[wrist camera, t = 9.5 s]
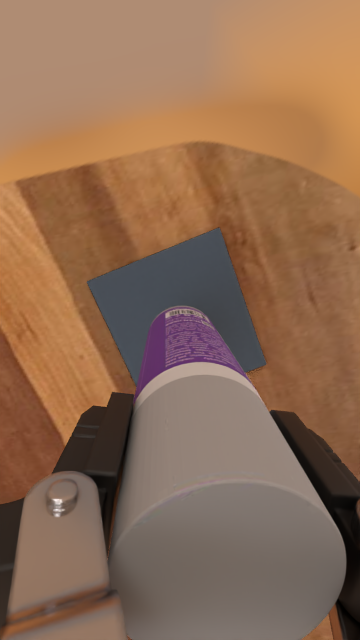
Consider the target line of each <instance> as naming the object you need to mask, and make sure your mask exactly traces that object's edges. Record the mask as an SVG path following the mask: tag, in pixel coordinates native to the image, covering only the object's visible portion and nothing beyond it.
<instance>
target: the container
mask: <svg viewBox="0 0 360 640" xmlns="http://www.w3.org/2000/svg"><path fill="white" fill-rule="evenodd" d="M108 569H109V577H110V583H111V587H112V590H113V589H117V591H118V593H119V596H120V599H121V604H122V609H123V614H124V620H125V627H126V633H127V635H128V636H129V637H130V638H131V639H132V640H301V639H302V638H304V637H305V636H306V635H308V634H309V633H310V632H311V631H312V630H313V629H314V628H316V627H317V626H318V625H319V624H320V623H321V622H322V620H323V619H324V618H325V617H326V616H327V615H328V613H329V612H330V610H331V609H332V607H333V606H334V604H335V602H336V601H337V599H338V597H339V594H340V592H341V590H342V586H343V583H344V579H345V574H346V551H345V546H344V542H343V539H342V536H341V534H340V532H339V529H338V528H337V526H336V524H335V523H334V521H333V519H332V517H331V516H330V514H329V512H328V511H327V509H326V507H325V506H324V504H323V502H322V501H321V499H320V497H319V496H318V494H317V492H316V490H315V489H314V487H313V485H312V484H311V482H310V480H309V479H308V477H307V475H306V474H305V472H304V470H303V469H302V467H301V465H300V464H299V462H298V460H297V458H296V457H295V455H294V453H293V452H292V450H291V448H290V447H289V445H288V443H287V442H286V440H285V438H284V437H283V435H282V433H281V431H280V430H279V428H278V426H277V425H276V423H275V421H274V420H273V418H272V416H271V415H270V413H269V411H268V410H267V408H266V406H265V404H264V403H263V401H262V399H261V398H260V396H259V394H258V392H257V390H256V389H255V387H254V386H253V384H252V383H251V381H250V380H249V378H248V377H247V375H246V374H245V372H244V371H243V369H242V368H241V366H240V365H239V363H238V362H237V360H236V359H235V357H234V356H233V354H232V353H231V351H230V350H229V348H228V346H227V345H226V343H225V342H224V340H223V339H222V337H221V336H220V334H219V333H218V331H217V330H216V328H215V327H214V325H213V324H212V322H211V321H210V320H209V318H208V317H207V316H206V315H205V314H204V313H203V312H201V311H200V310H198V309H196V308H193V307H190V306H174V307H171V308H168V309H166V310H164V311H163V312H161V313H160V314H159V315H158V316H157V317H156V318H155V319H154V320H153V322H152V324H151V326H150V328H149V332H148V336H147V340H146V345H145V350H144V355H143V359H142V364H141V369H140V374H139V378H138V383H137V388H136V392H135V397H134V403H133V410H132V416H131V421H130V427H129V432H128V438H127V443H126V450H125V456H124V462H123V468H122V475H121V481H120V487H119V493H118V499H117V506H116V512H115V518H114V524H113V531H112V537H111V543H110V549H109V556H108Z"/></svg>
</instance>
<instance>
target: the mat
mask: <svg viewBox="0 0 360 640" xmlns="http://www.w3.org/2000/svg"><path fill="white" fill-rule="evenodd" d="M87 284H88V286H89V288H90V290H91V292H92V294H93V296H94V298H95V300H96V302H97V305H98V307H99V309H100V311H101V313H102V315H103V317H104V319H105V321H106V324H107V326H108V328H109V330H110V332H111V334H112V336H113V338H114V340H115V342H116V345H117V347H118V349H119V351H120V353H121V355H122V357H123V359H124V361H125V364H126V366H127V368H128V370H129V372H130V374H131V376H132V378H133V380H134V382H135V385H136V387H137V383H138V378H139V374H140V369H141V364H142V359H143V355H144V350H145V345H146V340H147V336H148V332H149V328H150V326H151V324H152V322H153V320H154V319H155V318H156V317H157V316H158V315H159V314H160V313H161V312H163V311H164V310H166V309H168V308H171V307H174V306H190V307H193V308H196V309H198V310H200V311H201V312H203V313H204V314H205V315H206V316H207V317H208V318H209V320H210V321H211V322H212V324H213V325H214V327H215V328H216V330H217V331H218V333H219V334H220V336H221V337H222V339H223V340H224V342H225V343H226V345H227V346H228V348H229V350H230V351H231V353H232V354H233V356H234V357H235V359H236V360H237V362H238V363H239V365H240V366H241V368H242V369H243V371H244V372H248V371H251V370H253V369H256V368H258V367H261V366H264V365H266V362H265V359H264V356H263V353H262V350H261V347H260V344H259V341H258V338H257V335H256V332H255V329H254V327H253V324H252V321H251V318H250V315H249V312H248V309H247V306H246V303H245V300H244V297H243V295H242V292H241V289H240V286H239V283H238V280H237V277H236V274H235V271H234V268H233V265H232V263H231V260H230V257H229V254H228V251H227V248H226V245H225V242H224V239H223V236H222V233H221V231H220V228H217V229H214V230H212V231H209V232H207V233H204V234H202V235H200V236H197V237H195V238H192V239H190V240H187V241H185V242H182V243H180V244H178V245H175V246H173V247H170V248H168V249H165V250H163V251H160V252H158V253H155V254H153V255H151V256H148V257H146V258H143V259H141V260H138V261H136V262H133V263H131V264H129V265H126V266H124V267H121V268H119V269H116V270H114V271H111V272H109V273H106V274H104V275H102V276H99V277H97V278H94V279H92V280H89V281H87Z"/></svg>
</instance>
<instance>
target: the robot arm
mask: <svg viewBox="0 0 360 640" xmlns="http://www.w3.org/2000/svg"><path fill="white" fill-rule="evenodd" d="M133 403H134V394H125V393H115V392H112V394H111V397H110V400H109V402H108V405H107V407H101V406H92V407H91V408H90V409H88V410H87V411H86V412H84V413H83V414H82V415H81V417H80V419H79V421H78V423H77V425H76V427H75V429H74V431H73V433H72V436H71V437H70V439H69V441H68V443H67V445H66V447H65V449H64V451H63V452H62V454H61V456H60V458H59V460H58V462H57V464H56V466H55V468H54V470H53V472H52V474H51V475H49V476H46V477H44V478H43V479H41V480H39V481H38V482H37V483H36V484H34V485H33V487H32V488H31V489H30V490H29V491H28V493H27V495H26V497H24V498H22V499H20V500H17V501H14V502H10V503H5V504H0V640H128V639H127V633H126V627H125V620H124V614H123V609H122V604H121V599H120V596H119V593H118V591H117V589H113V590H112V587H111V583H110V577H109V569H108V562H107V557H108V551H109V546H110V541H111V536H112V530H113V524H114V518H115V512H116V506H117V499H118V493H119V487H120V481H121V475H122V468H123V462H124V456H125V450H126V443H127V438H128V432H129V427H130V421H131V416H132V410H133ZM269 413H270V415H271V416H272V418H273V420H274V421H275V423H276V425H277V426H278V428H279V430H280V431H281V433H282V435H283V437H284V438H285V440H286V442H287V443H288V445H289V447H290V448H291V450H292V452H293V453H294V455H295V457H296V458H297V460H298V462H299V464H300V465H301V467H302V469H303V470H304V472H305V474H306V475H307V477H308V479H309V480H310V482H311V484H312V485H313V487H314V489H315V490H316V492H317V494H318V496H319V497H320V499H321V501H322V502H323V504H324V506H325V507H326V509H327V511H328V512H329V514H330V516H331V517H332V519H333V521H334V523H335V524H336V526H337V528H338V529H339V532H340V534H341V536H342V539H343V542H344V546H345V551H346V574H345V579H344V583H343V586H342V590H341V592H340V594H339V597H338V599H337V601H336V602H335V604H334V606H333V607H332V609H331V610H330V612H329V613H328V614H329V619H330V624H331V629H332V635H333V640H360V482H359V481H358V480H357V479H356V477H355V476H354V475H353V474H352V473H351V472H350V470H349V469H348V468H347V467H346V466H345V464H344V463H341V460H340V458H339V457H338V456H337V455H336V454H335V453H333V450H332V449H331V448H330V447H329V445H328V444H327V443H326V442H325V441H324V439H322V438H321V437H320V436H318V435H317V434H316V433H314V432H313V431H312V430H310V429H307V427H306V426H305V425H304V424H303V422H302V421H301V420H300V419H299V417H298V416H297V415H296V414H295V413H294V412H286V411H277V410H271V411H270V412H269Z"/></svg>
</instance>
